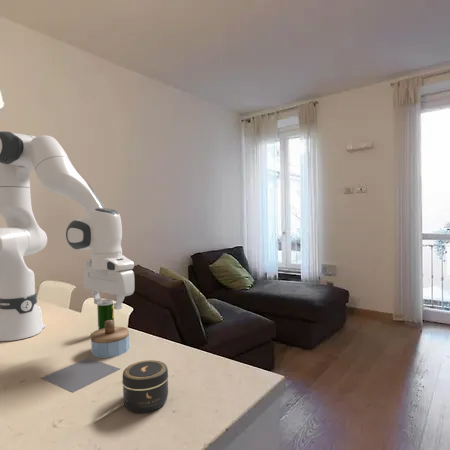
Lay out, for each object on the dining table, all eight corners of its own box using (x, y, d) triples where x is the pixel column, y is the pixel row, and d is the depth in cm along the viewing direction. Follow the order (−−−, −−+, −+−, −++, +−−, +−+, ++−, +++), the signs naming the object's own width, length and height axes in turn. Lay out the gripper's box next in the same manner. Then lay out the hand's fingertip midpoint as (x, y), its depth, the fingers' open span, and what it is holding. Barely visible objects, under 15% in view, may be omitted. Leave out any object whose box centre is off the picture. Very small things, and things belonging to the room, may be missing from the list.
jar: (126, 420, 70) (125, 383, 69) (120, 396, 79) (119, 364, 79) (173, 408, 74) (172, 373, 73) (163, 387, 83) (162, 356, 83)
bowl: (84, 355, 103) (83, 339, 103) (113, 343, 112) (113, 328, 112) (107, 363, 97) (106, 345, 97) (136, 350, 106) (135, 334, 106)
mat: (40, 380, 87) (40, 377, 87) (88, 360, 99) (88, 357, 99) (72, 395, 80) (72, 392, 80) (120, 371, 91) (120, 368, 91)
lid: (83, 339, 103) (82, 323, 102) (112, 328, 112) (112, 314, 112) (106, 346, 97) (106, 329, 96) (136, 334, 106) (135, 319, 106)
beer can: (100, 337, 117) (99, 303, 117) (96, 333, 122) (95, 300, 121) (116, 334, 120) (115, 301, 120) (112, 330, 125) (110, 298, 124)
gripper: (77, 260, 106) (77, 303, 107) (120, 266, 95) (121, 314, 96) (94, 257, 112) (95, 299, 112) (138, 263, 101) (138, 309, 101)
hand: (107, 306), depth 104 cm, fingers open, 8 cm apart
